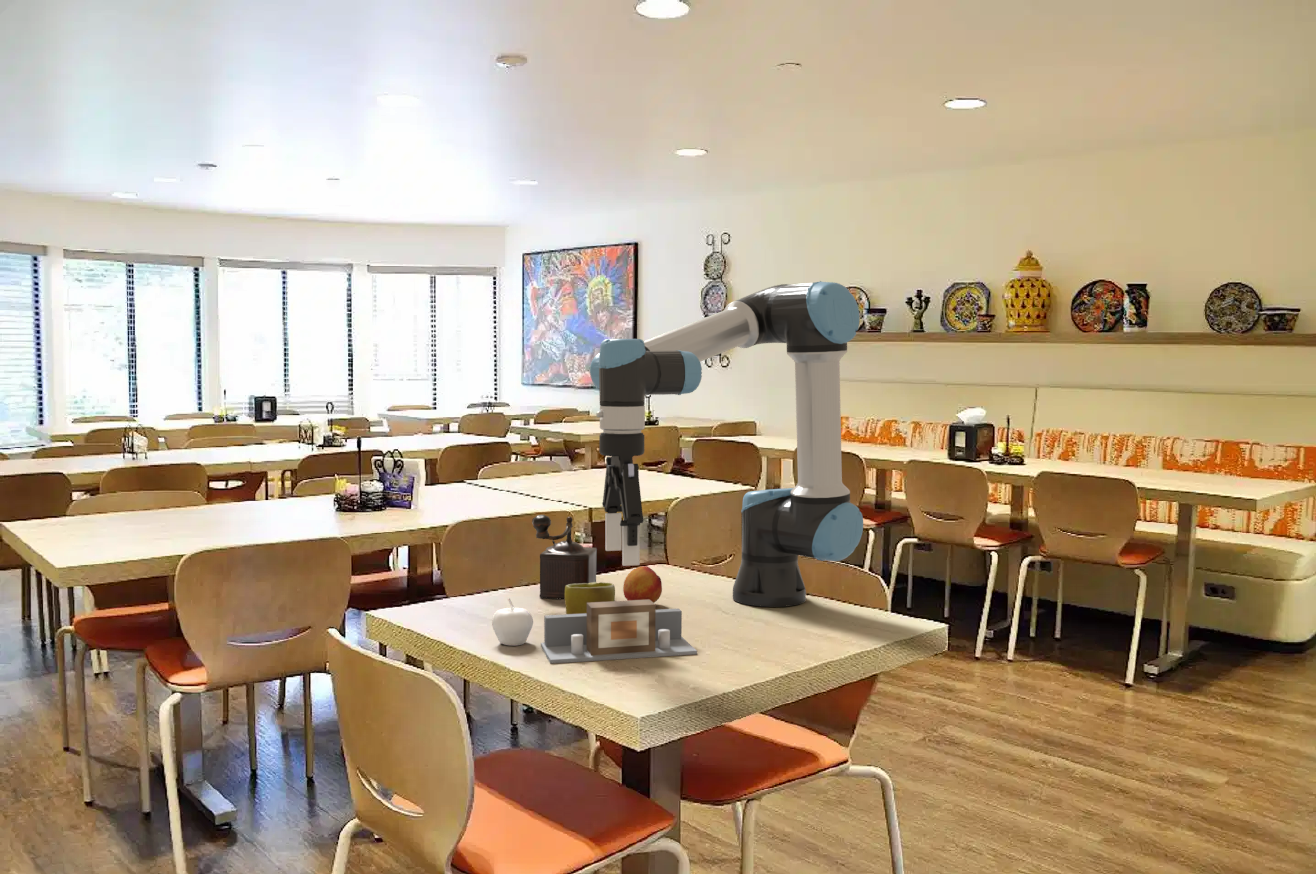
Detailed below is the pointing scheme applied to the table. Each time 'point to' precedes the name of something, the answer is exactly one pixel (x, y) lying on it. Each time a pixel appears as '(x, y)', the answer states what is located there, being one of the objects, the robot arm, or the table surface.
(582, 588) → the mug
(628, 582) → the fruit
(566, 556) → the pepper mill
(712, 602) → the table surface
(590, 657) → the ledge
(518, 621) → the plain white apple
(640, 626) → the picture block
